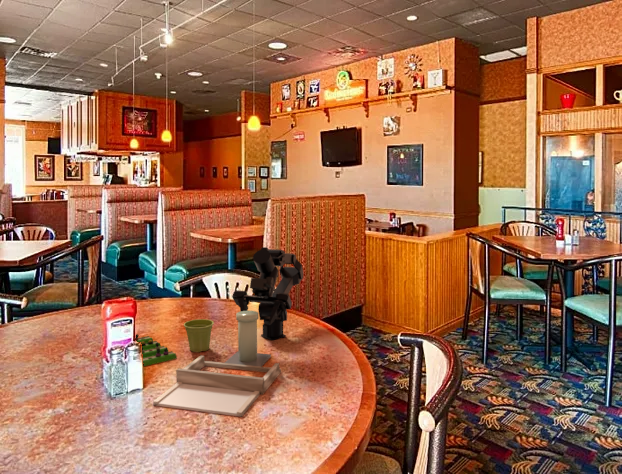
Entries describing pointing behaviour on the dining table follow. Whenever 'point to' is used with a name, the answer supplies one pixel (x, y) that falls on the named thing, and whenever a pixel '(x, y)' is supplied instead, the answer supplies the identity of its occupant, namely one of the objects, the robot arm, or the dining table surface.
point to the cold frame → (227, 376)
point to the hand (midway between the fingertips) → (255, 323)
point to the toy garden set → (154, 351)
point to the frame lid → (207, 399)
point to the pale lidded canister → (247, 335)
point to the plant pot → (199, 334)
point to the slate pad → (259, 362)
